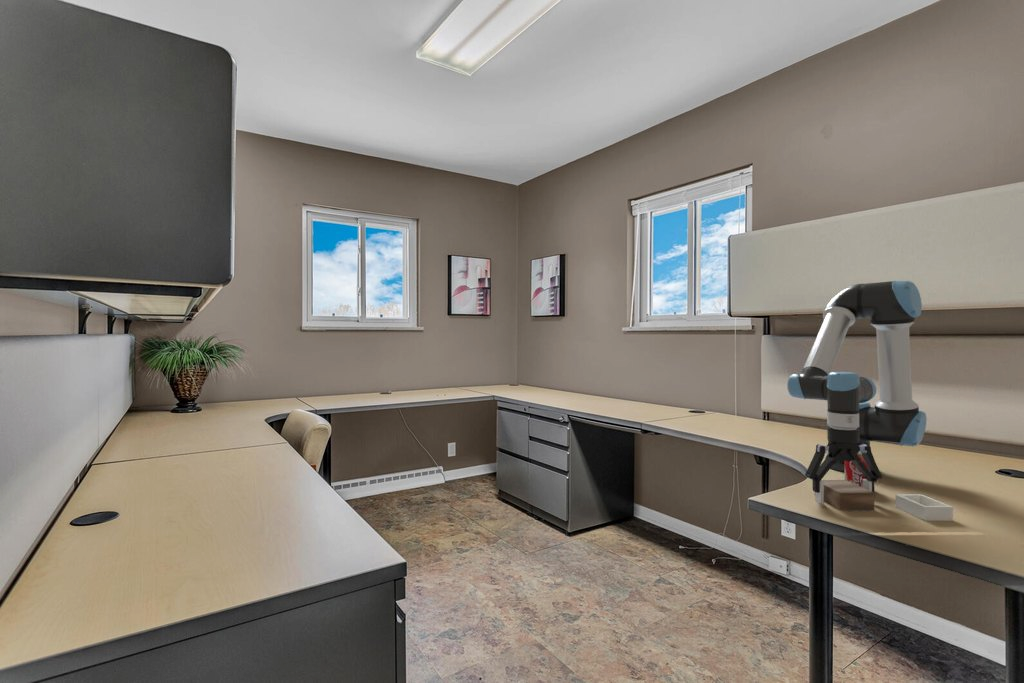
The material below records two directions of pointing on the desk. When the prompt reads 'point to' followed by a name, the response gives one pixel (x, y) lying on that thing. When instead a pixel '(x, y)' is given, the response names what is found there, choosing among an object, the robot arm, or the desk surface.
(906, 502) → the dish
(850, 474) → the soda can
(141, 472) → the desk surface
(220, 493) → the desk surface
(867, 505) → the brown wooden block
